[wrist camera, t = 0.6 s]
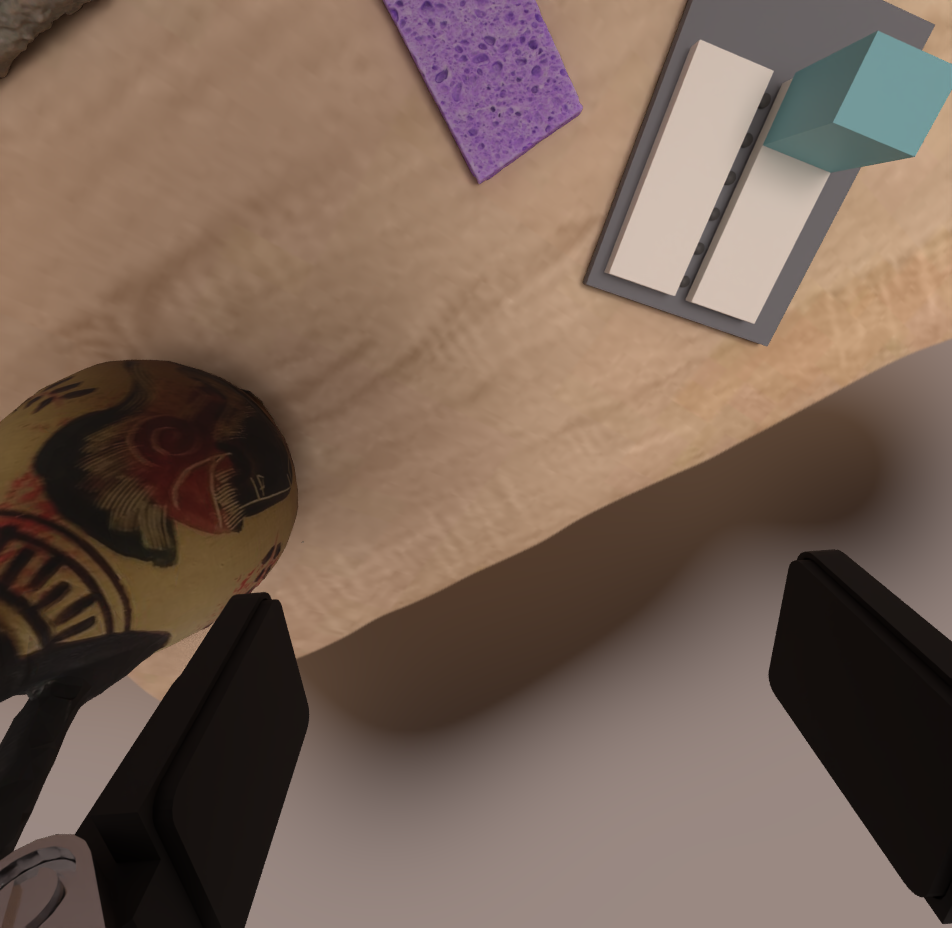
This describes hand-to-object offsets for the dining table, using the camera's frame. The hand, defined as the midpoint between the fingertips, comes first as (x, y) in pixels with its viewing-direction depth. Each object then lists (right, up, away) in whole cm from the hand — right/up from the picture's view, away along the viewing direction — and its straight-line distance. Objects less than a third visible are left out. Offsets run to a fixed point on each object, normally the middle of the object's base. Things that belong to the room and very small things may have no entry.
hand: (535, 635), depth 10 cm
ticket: (+11, +20, +21) cm, 31 cm away
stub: (+16, +18, +22) cm, 33 cm away
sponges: (-1, +27, +20) cm, 33 cm away
